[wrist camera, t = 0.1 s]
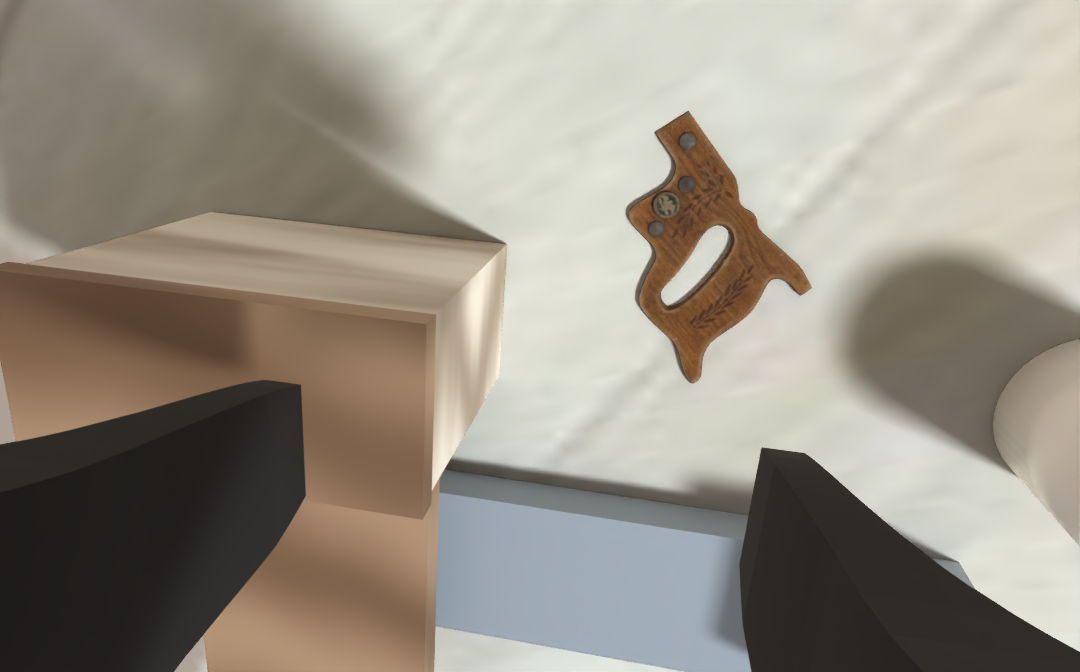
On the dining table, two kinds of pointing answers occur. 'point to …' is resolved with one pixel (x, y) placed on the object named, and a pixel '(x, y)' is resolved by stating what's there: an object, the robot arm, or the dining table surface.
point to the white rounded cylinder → (1045, 431)
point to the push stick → (594, 572)
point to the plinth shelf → (326, 388)
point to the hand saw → (677, 226)
